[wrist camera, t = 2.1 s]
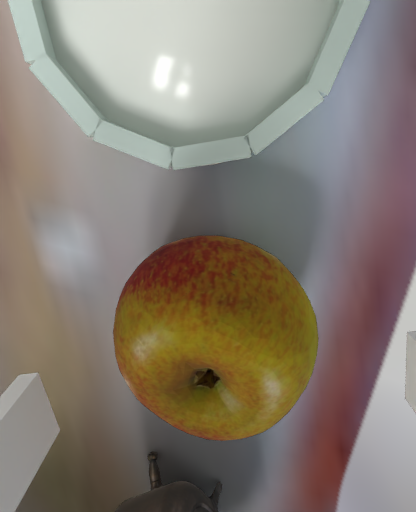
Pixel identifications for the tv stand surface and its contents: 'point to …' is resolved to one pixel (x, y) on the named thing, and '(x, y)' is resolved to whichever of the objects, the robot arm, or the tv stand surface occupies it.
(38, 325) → the tv stand surface
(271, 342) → the fruit
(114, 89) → the dish
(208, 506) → the alarm clock
